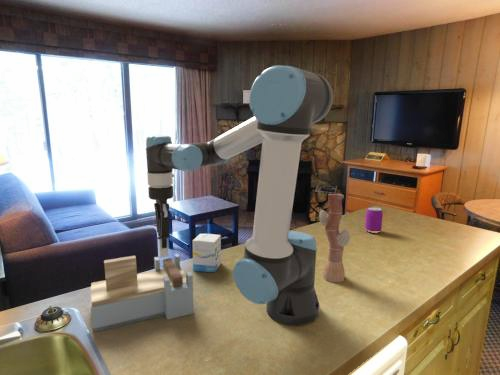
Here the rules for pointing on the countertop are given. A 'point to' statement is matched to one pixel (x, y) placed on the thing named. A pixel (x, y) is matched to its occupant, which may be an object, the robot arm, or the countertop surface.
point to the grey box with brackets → (147, 304)
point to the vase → (334, 238)
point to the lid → (127, 282)
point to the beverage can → (374, 219)
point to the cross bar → (172, 272)
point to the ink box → (206, 252)
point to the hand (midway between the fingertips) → (164, 256)
